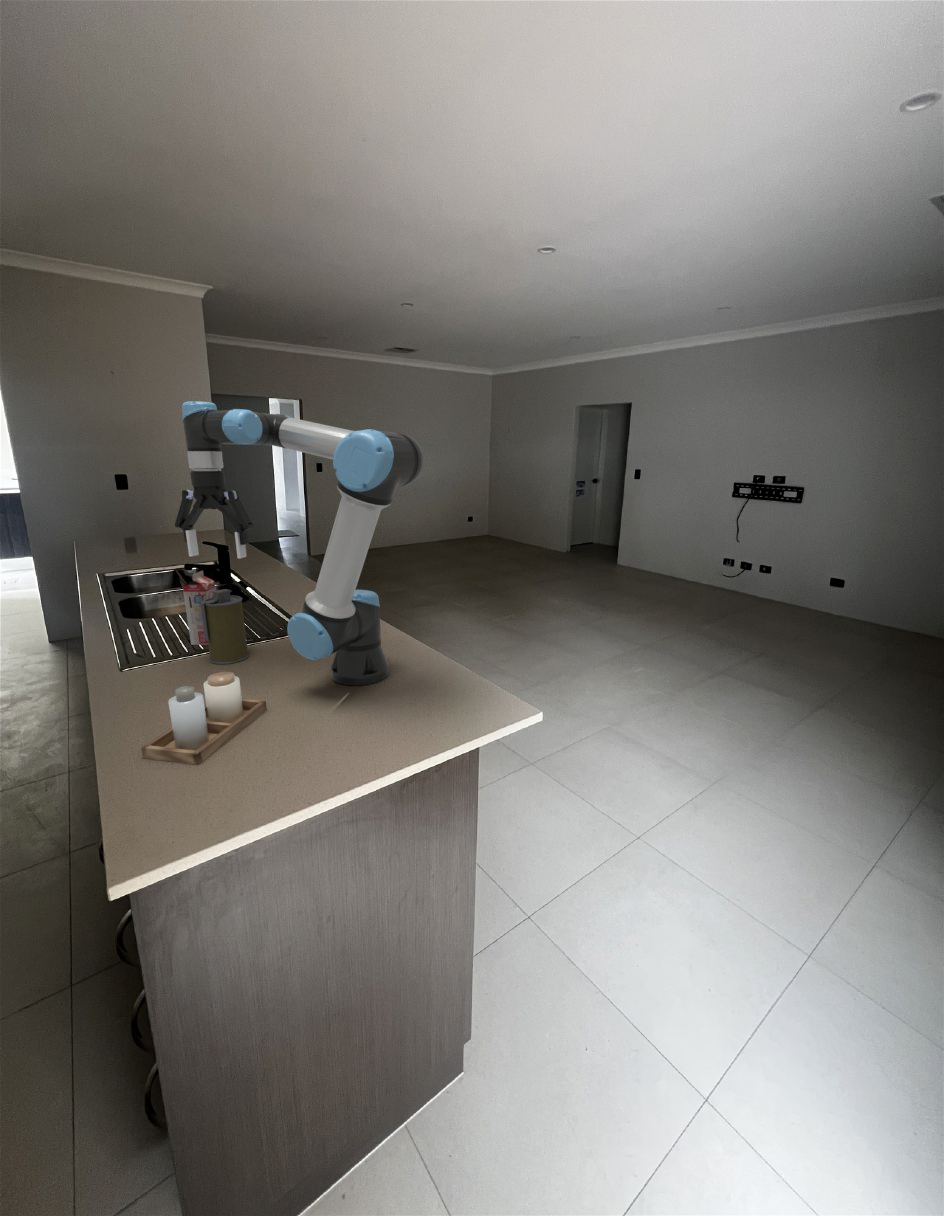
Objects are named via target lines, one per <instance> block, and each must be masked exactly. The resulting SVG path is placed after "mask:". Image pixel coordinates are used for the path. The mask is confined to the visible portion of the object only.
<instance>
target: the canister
mask: <svg viewBox="0 0 944 1216" xmlns="http://www.w3.org/2000/svg"><path fill="white" fill-rule="evenodd" d="M232 592H233V591H232V590H231V589H227V588H224V589H217V590H216V591H213V596H212V597H211V598H208V599H205V600H203V601H202V602H201V603H200V605H201V613H202V620H203V627H204V635H205V640H206V641H208V645H207V646H208V652H209V662H210V663H212V664H214V663H215V664H216V665H230V664H235V663H239V661H240V662H242V660H243V661H244V660H246V659H247V657H248V658H249V655H250V654H249V651H248V643H247V634H246V626H245V618H244V610H243V609H244V608H243V597H241V596H238V595H231V593H232ZM215 664H214V665H215Z"/></svg>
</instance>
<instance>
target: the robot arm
mask: <svg viewBox="0 0 944 1216" xmlns="http://www.w3.org/2000/svg"><path fill="white" fill-rule="evenodd" d="M181 413H182V423H183V430H184V437H185V444H186V450H187V451H186V452H187V461H188V467H189V469H192V470H191V471H190V473H189V474H190V482H191V486H192V487H193V490H192V489H183V490H182V491H181V502H180V506H179V509H178V512H177V516H176V519H175V521H174V526H175V528H179V529H181V530H182V531H183V539H184V542H185V543H186V544H187V551H188V557H195V556H199V555H200V553H199V546H198V539H197V531H196V530H197V529H194V526H195V524H196V523H197V521H198V519H199V518H200V517H201V515H202V513H203V512H204V510H209V509H211V510H218V511H219V512H221V513H222V515H224V517H225V518H226V519H227V520H228V521H229V523H230V524H231V525H232V526H233V527H234V528H235V530H236V531H234V538H235V547H236V548H235V549H236V556H237V559H240V560H241V559H244V558H246V557H247V548H246V547H247V546H246V545H248V542H249V540H248V531H249V530H251V529H254V527H255V525H254V523H253V522H252V520H251V518H250V516H249V515H248V513H247V510H246V508H244V506H243V504H242V501H241V500H240V497H239V492H238V490H228V491H227V490H226V484H227V483H226V477H225V476H226V475H225V472H224V471H223V470H222V469H223V468H224V462H223V461H224V460H223V449H222V445H240V446H242V445H246V446H247V445H252V446H255V445H257V446H273V447H278V448H282V449H289V450H293V451H296V452H300V453H304V454H309V455H311V456H312V455H313V456H316V457H321V458H325V459H329V460H332V461H333V462H332V465H333V469H334V470H335V473H334V474H335V476H336V478H337V480H338V481H337V485H336V488H337V491H339V493H340V495H341V498H340V502H339V504H338V509H337V513H336V515H335V518H334V523H333V526H332V529H331V533H330V537H329V540H328V543H327V547H326V551H325V554H324V557H323V561H322V565H321V567H320V568H321V569H320V572H319V575H318V578H317V582H316V585H315V589H314V590H313V591H311V592H309V593H307V594H306V596H305V599H304V602H303V605H302V609H301V611H300V612H298V613H295V614H294V615H293V616H291V617H290V618H289V620H288V623H287V629H286V630H287V631H286V632H287V636H288V639H289V642H290V643H291V644H292V645H291V646H292V647H293V648H294V650H295V651H296V652H297V654H298V653H299V655H301V656H302V657H303V658H306V659H307V660H312V661H316V660H317V661H319V660H321V659H324V658H328V657H329V656H331V655H332V654H334V656H333V660H332V663H331V667H330V675H331V679H332V681H333V682H335V683H337V684H341V685H344V686H345V685H346V686H366V685H371V684H374V683H378V682H380V681H383V680H384V679H386V678H387V677H388V675H389V674H390V672H389V671H390V668H389V667H390V666H389V662H388V660H387V658H386V657H387V656H386V655H385V652H384V650H383V647H382V639H381V638H382V636H381V612H380V609H381V604H380V600H379V595H378V594H377V592H375V591H372V590H369V589H368V590H367V589H366V590H365V589H356V588H357V587H358V582H359V580H360V576H361V575H362V574H361V573H362V572H363V571H362V570H363V567H364V564H365V561H366V558H367V556H368V555H367V554H368V551H369V548H370V546H371V545H370V544H371V543H372V540H373V536H374V533H375V531H376V526H377V524H378V520H379V518H380V516H381V515H380V514H381V512H382V510H383V509H385V508H388V507H390V505H391V504H392V501H393V497H394V495H395V492H396V489H397V488H400V487H406V486H409V485H410V484H413V483H414V482H415V481H416V480H417V479H418V478H419V476H420V474H422V473H421V472H422V471H423V467H424V455H423V454H424V453H423V450H422V448H421V446H420V444H419V443H418V442H417V441H416V440H415V439H414V438H413V437H412V436H410V435H408V434H406V433H403V432H398V431H397V432H396V431H395V432H394V431H393V432H392V431H383V430H376V429H370V428H369V429H362V430H352V429H351V430H350V429H345V428H341V427H337V426H332V425H327V424H322V423H317V422H314V421H309V420H304V419H298V418H295V417H292V416H289V415H285V414H281V413H275V414H274V413H266V412H265V413H264V412H256V411H252V410H249V409H244V408H243V409H242V408H241V409H240V408H233V409H228V410H227V409H225V410H223V409H222V410H218V408H217V405H216V404H215V403H214V402H208V401H197V400H195V401H192V400H191V401H185V402H183V404H182V407H181ZM194 499H195V500H196V501H195V502H194ZM227 500H228V501H229V503H228V501H227ZM193 502H194V503H193ZM231 507H232V508H231Z"/></svg>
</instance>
